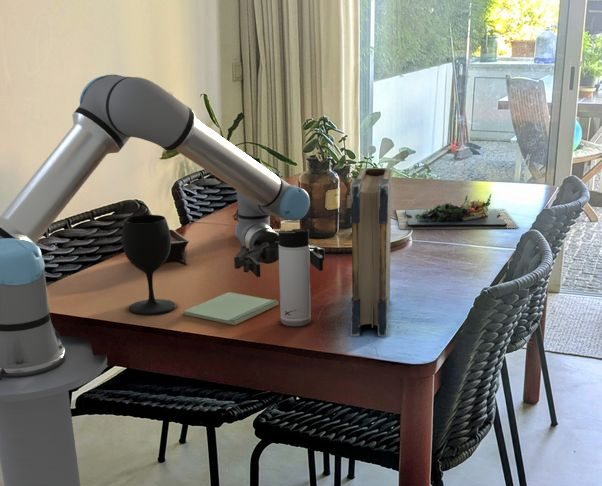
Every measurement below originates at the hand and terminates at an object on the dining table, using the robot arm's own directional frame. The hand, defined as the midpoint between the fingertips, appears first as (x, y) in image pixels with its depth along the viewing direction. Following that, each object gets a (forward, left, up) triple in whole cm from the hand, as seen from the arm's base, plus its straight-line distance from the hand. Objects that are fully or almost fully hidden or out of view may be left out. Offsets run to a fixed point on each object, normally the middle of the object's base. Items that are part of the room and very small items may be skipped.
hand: (290, 267), depth 180 cm
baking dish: (+20, +55, -11) cm, 60 cm away
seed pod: (+58, +51, -11) cm, 78 cm away
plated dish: (+104, +9, -11) cm, 105 cm away
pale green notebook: (-2, +14, -11) cm, 18 cm away
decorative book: (+8, -15, -11) cm, 20 cm away
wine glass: (-10, +30, -11) cm, 34 cm away
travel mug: (-2, -3, -11) cm, 12 cm away
